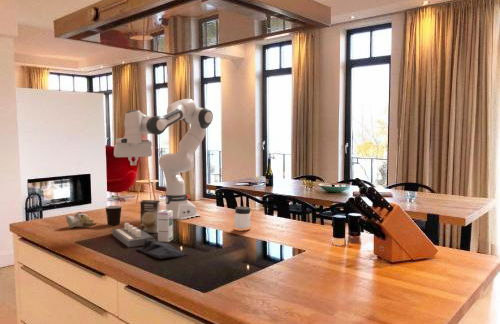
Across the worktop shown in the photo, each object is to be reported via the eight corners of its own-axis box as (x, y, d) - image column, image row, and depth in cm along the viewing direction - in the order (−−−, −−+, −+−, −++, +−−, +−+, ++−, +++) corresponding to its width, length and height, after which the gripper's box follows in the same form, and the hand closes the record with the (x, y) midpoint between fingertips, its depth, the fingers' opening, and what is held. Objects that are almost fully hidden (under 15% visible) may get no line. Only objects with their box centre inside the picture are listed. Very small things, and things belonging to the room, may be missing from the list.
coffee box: (139, 232, 215) (139, 202, 214) (142, 229, 222) (142, 200, 220) (157, 232, 216) (157, 202, 214) (159, 229, 222) (159, 200, 221)
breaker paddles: (127, 228, 211) (127, 222, 210) (141, 237, 194) (140, 230, 194) (124, 229, 210) (124, 223, 209) (137, 237, 193) (137, 231, 193)
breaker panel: (135, 232, 216) (135, 225, 216) (153, 243, 195) (153, 236, 195) (112, 234, 210) (112, 228, 209) (128, 247, 188) (128, 240, 188)
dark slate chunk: (155, 263, 168) (155, 251, 168) (134, 250, 185) (134, 239, 185) (188, 256, 177) (188, 245, 177) (166, 245, 195) (166, 235, 194)
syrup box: (168, 242, 198) (168, 212, 197) (157, 241, 199) (157, 211, 198) (173, 239, 203) (173, 209, 202) (162, 238, 205) (162, 209, 204)
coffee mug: (118, 226, 228) (118, 208, 227) (103, 226, 228) (103, 208, 227) (125, 221, 240) (125, 204, 239) (110, 221, 240) (110, 204, 239)
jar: (253, 230, 224) (253, 208, 223) (241, 232, 219) (242, 209, 218) (243, 227, 231) (243, 205, 230) (231, 229, 226) (231, 207, 225)
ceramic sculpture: (65, 210, 226) (94, 209, 233) (64, 226, 227) (93, 225, 234) (67, 214, 217) (97, 213, 224) (66, 230, 217) (96, 229, 225)
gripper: (149, 139, 233) (149, 164, 234) (112, 139, 221) (113, 165, 222) (153, 139, 227) (153, 165, 228) (116, 140, 216) (116, 166, 217)
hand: (133, 165), depth 225 cm, fingers closed
